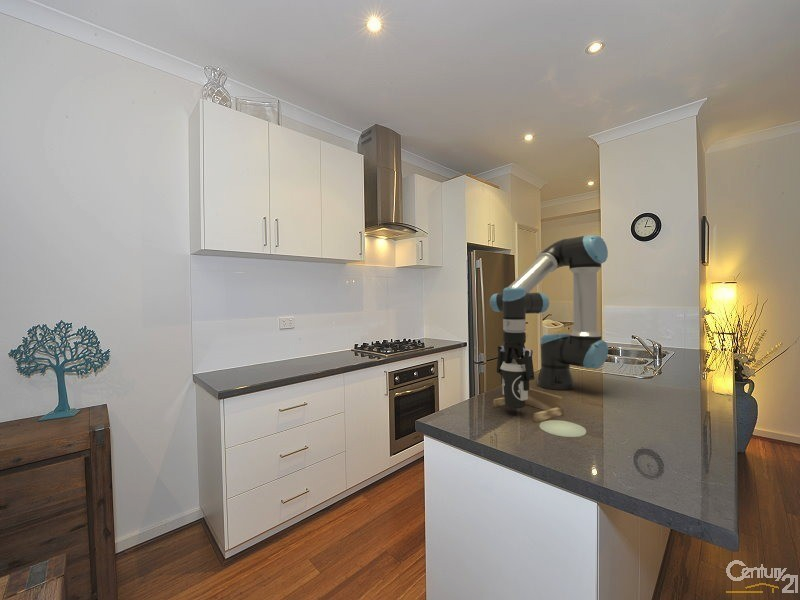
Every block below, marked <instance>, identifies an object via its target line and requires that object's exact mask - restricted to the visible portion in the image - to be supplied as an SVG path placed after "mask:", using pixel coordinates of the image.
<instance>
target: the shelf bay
mask: <svg viewBox="0 0 800 600" xmlns="http://www.w3.org/2000/svg"><path fill="white" fill-rule="evenodd" d="M492 401H493V403H492V406H493V407H495V408H497V407H502V406H506V405H505V397H504V396H503V397H502V396H501V397H499V398H494V399H492ZM525 405H527V406H530V407H534V408H536V409H540V410H542V411H538V412H534V413H533V422H535V423H539V422H544V421H547V420H548V419H549V420H550V419H553V418H556V417H559V416H562V415H564V397H563V396H560V395H556V394H553V393H549V392H545V391H543V390H542V391H541V390H539V389H534V388H531V387H529V390H528V399H527V400H525Z"/></svg>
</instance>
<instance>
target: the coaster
mask: <svg viewBox="0 0 800 600" xmlns="http://www.w3.org/2000/svg"><path fill="white" fill-rule="evenodd" d="M539 428H540V430H542V431H543V432H544V433H547V434H550V435H552V436H557V437H562V438H579V437H583V436H585V435H587V429H586V428H585V427H583V426H581V425H580V424H578V423H574V422H570V421H565V420H556V419H555V420H554V419H553V420H552V419H551V420H550V419H549V420H543V421H540V423H539Z"/></svg>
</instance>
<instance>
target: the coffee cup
mask: <svg viewBox="0 0 800 600" xmlns="http://www.w3.org/2000/svg"><path fill="white" fill-rule="evenodd" d="M521 366H522V367H523V368H521ZM500 369H502V376H503V387H504V395H503V397H505V405H504V406H505V407H506V408H510V409H523V408H525V405H526V404H525V400H520V382H521V380H522V377H521V374H522V372H524V371H526V369H525V364H523V365H518V364H517V362H516V361H515V360H512V361H511V363H506V362H503V363H502V365H501V367H500ZM525 377H526V376H525Z"/></svg>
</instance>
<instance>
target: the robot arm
mask: <svg viewBox="0 0 800 600" xmlns="http://www.w3.org/2000/svg"><path fill="white" fill-rule="evenodd" d="M608 251H609V250H608V246H607V244H606V241H605V240H604V238H602V237H601V236H599V235H598V234H589V235H587V234H586V235H585V234H584V235H582V236H576V237H570V238H562V239H561V240H558V241H556V242H554V243H552V244H551V245H549V246H548V247H546V248H545V249H543V250H542V251H541V252H540V253H539V254H538V255H537V257H536V260H535V261H534V262H533V263H532V264H531V265H530V266H529V267H528V268H526V269H525V270H524V272H522V273H521V274H520V275H519V276H518V277H517V278H516V279H515V280H514V281H513V282H512V283H510V285H508V286H507V287H504V288H503V290H502V292H501V293H500V292H498V293H493V294H492V295H491V296H490V299H489V307H490V309H491V310H492V311H493V312H496V313H497V312H498V313H502V325H503V326H502V329H503V333H502V341H503V343H504V344H503V345H498V346H497V352H498V353H497V363H496V373H497V374H500V376H501V377H500V381H501V385H502V387H501V388H502V395H503V396H504V387H503V376H502V369H500V367H501V365H502V363H503V362H506V363H511V361H513V360H514V361H516V362H517V364H518V365H523V364H525V369H526V371H524V372H522V374H521V377H522V380H521V382H520V400H527V399H528V390H529V388H530V381H533V380H535V372H534V363H533V354H534V352H533V349H527V348H526V346H525V344H526V341H527V339H526V338H527V333H526V332H525V331H526V330H527V328H526V323H527V322H526V315H527V314H537V315H538V314H541V313H545V312H546V311H547V310H548V309H549V307H550V300H549V297H548V296H547V295H546V294H545V293H543V292H531V291H532V290H534V288H535V287H537V286H538V285H539V284H540V283H541V281H542V280H544V278H546V276H548V275H549V274H550V273H553V272H555V271H556V270H557V269H559V268H562V267H563V268H564V267H569V271H571V272H572V277H573V278H572V281H573V283H572V284H573V290H572V291H573V294H572V295H573V330H572V332H570V333H557V334H555V333H553V334H552V333H551V334H545V335H542V336H541V339H540V340H541V341H540V359H541V360H540V369H539V370H540V371H539V373H538V376H537V378H536V379H537V380H536V384H537V386H538V387H541V388H544V389H549V390H557V391H559V390H560V391H561V390H562V391H564V390H565V391H566V390H567V391H568V390H572V389H574V388H575V381H574V378H573V374H572V372H571V369H570V368H571V367H570V366H575V367H581V368H584V369H595V370H596V369H599V368H601V367H603V365H604V364H605V363H606V360H607V359H608V354H609V347H608V344H607V342H606V341H605V340H602V335H601V334H600V332H598V272H599V271H600V270H601V269H602V264H604V263H606V261H607V259H608V256H609V255H608V254H609V252H608ZM521 368H523V367H522V366H521ZM525 376H526V377H525Z"/></svg>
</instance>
